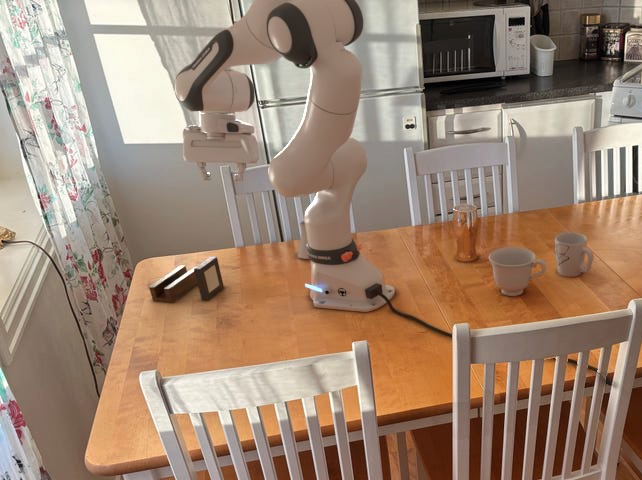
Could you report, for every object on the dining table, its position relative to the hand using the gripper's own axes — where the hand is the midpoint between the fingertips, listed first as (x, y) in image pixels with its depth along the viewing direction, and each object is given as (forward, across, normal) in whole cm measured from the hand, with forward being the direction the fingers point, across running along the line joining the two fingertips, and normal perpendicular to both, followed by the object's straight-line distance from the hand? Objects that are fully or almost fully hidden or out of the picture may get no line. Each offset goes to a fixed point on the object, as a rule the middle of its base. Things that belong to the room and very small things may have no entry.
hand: (222, 180), depth 193 cm
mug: (+23, +92, +18) cm, 97 cm away
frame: (+29, -1, -8) cm, 30 cm away
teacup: (+26, +79, +5) cm, 84 cm away
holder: (+29, -11, -8) cm, 32 cm away
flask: (+22, +15, +19) cm, 33 cm away
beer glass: (+21, +61, +24) cm, 69 cm away
